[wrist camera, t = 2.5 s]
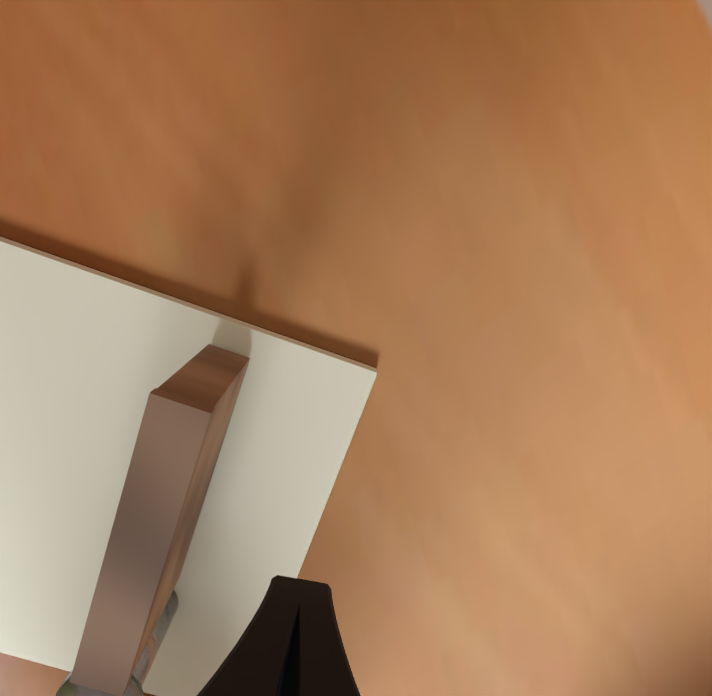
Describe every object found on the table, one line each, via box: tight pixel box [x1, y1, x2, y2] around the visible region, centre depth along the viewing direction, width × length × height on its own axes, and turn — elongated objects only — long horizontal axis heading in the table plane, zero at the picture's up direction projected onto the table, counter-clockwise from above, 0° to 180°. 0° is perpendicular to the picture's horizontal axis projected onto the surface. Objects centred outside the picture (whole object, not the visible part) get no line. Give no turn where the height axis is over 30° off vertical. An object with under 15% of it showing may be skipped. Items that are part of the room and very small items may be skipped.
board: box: [0, 237, 377, 696], centre depth 21 cm, size 18×21×1 cm
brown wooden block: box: [70, 344, 250, 696], centre depth 17 cm, size 10×2×5 cm, turn 160°
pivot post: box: [56, 590, 178, 696], centre depth 20 cm, size 3×3×6 cm
